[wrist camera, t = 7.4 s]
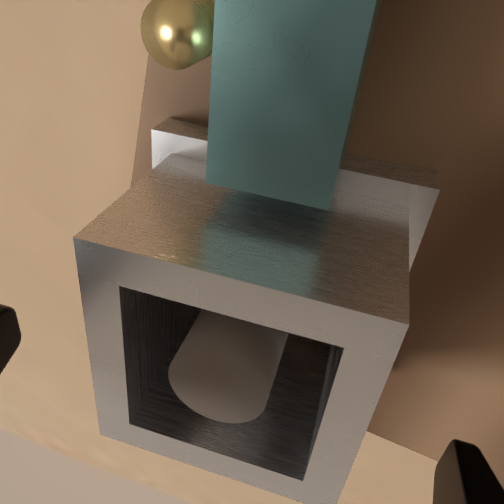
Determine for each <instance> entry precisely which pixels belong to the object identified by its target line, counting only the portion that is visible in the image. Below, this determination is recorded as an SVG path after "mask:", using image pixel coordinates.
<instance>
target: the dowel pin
mask: <svg viewBox="0 0 504 504" xmlns="http://www.w3.org/2000/svg"><path fill="white" fill-rule="evenodd" d="M214 9H215V0H152V1H151V2H150V3H149V4H148V5H147V7H146V8H145V10H144V12H143V15H142V19H141V35H142V39H143V43H144V45H145V47H146V49H147V51H148V53H149V54H150V55H151V57H152V58H153V59H154V60H155V61H156V62H157V63H159V64H160V65H162V66H163V67H166V68H168V69H172V70H182V69H186V68H188V67H190V66H192V65H194V64H196V63H198V62H200V61H201V60H203V59H205V58H207V57H209V56H211V55H212V47H213V28H214Z"/></svg>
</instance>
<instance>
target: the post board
mask: <svg viewBox="0 0 504 504" xmlns="http://www.w3.org/2000/svg"><path fill="white" fill-rule="evenodd" d="M211 66H212V55H211V56H209V57H207V58H205V59H203V60H201V61H200V62H198V63H196V64H194V65H192V66H190V67H188V68H186V69H182V70H172V69H168V68H166V67H163V66H162V65H160V64H159V63H157V62H156V61H155V60H154V59H153V58H152V57H151V55H150V54H149V56H148V63H147V71H146V78H145V85H144V93H143V100H142V108H141V115H140V123H139V130H138V138H137V145H136V153H135V160H134V168H133V175H132V182H131V187H132V186H134V185H135V184H136V183H137V182H138V181H139V180H141V179H142V178H143V177H144V176H145V175H146V174H148V173H149V172H150V171H151V170H152V138H151V129H152V128H154V127H155V126H157V125H158V124H160V123H161V122H162V121H164V120H165V119H167V118H168V117H172V118H177V119H182V120H187V121H192V122H197V123H201V124H206V125H208V124H209V104H210V85H211ZM346 153H349V154H353V155H358V156H363V157H368V158H373V159H378V160H383V161H388V162H393V163H398V164H402V165H407V166H412V167H417V168H422V169H427V170H432V171H437V172H438V178H439V185H440V192H439V194H438V197H437V200H436V202H435V205H434V208H433V210H432V213H431V216H430V218H429V221H428V224H427V226H426V229H425V232H424V234H423V237H422V240H421V242H420V245H419V248H418V250H417V253H416V256H415V258H414V261H413V264H412V266H411V269H410V272H409V327H408V329H407V332H406V334H405V337H404V339H403V342H402V344H401V347H400V349H399V352H398V354H397V356H396V359H395V361H394V364H393V366H392V369H391V371H390V374H389V376H388V379H387V381H386V384H385V386H384V388H383V391H382V393H381V396H380V398H379V401H378V403H377V406H376V408H375V411H374V413H373V415H372V418H371V420H370V423H369V425H368V428H367V430H366V431H368V432H370V433H373V434H375V435H378V436H380V437H382V438H385V439H387V440H389V441H392V442H394V443H396V444H399V445H401V446H403V447H406V448H408V449H410V450H413V451H415V452H417V453H420V454H422V455H424V456H427V457H429V458H431V459H434V460H436V461H439V460H440V458H441V457H442V455H443V453H444V451H445V450H446V448H447V446H448V445H449V443H450V442H451V441H452V440H453V439H458V440H462V441H465V442H468V443H472V444H474V445H476V446H477V447H478V448H479V449H480V450H481V452H482V454H483V455H484V457H485V459H486V460H487V462H488V464H489V465H490V467H491V469H492V470H493V472H494V474H495V476H496V477H497V479H498V481H499V482H500V484H501V486H502V487H503V489H504V0H382V2H381V7H380V11H379V15H378V19H377V24H376V28H375V32H374V37H373V41H372V45H371V49H370V54H369V58H368V62H367V67H366V71H365V75H364V79H363V84H362V88H361V92H360V96H359V101H358V105H357V109H356V114H355V118H354V122H353V126H352V131H351V135H350V139H349V144H348V148H347V152H346ZM288 334H289V332H285V331H281V330H278V329H274V328H270V327H267V326H263V325H260V324H256V323H252V322H249V321H245V320H241V319H238V318H234V317H230V316H227V315H223V314H220V313H216V312H212V311H209V310H205V309H202V310H201V311H200V313H199V315H198V317H197V318H196V320H195V322H194V324H193V325H192V327H191V329H190V331H189V332H188V334H187V336H186V338H185V339H184V341H183V343H182V344H181V346H180V348H179V350H178V351H177V353H176V355H175V357H174V358H173V360H172V362H171V364H170V366H169V371H168V377H169V382H170V384H171V387H172V389H173V391H174V392H175V393H176V395H177V396H178V397H179V399H180V400H181V401H182V402H183V403H184V404H186V405H187V406H188V407H189V408H191V409H192V410H194V411H195V412H197V413H199V414H200V415H202V416H205V417H207V418H209V419H212V420H215V421H219V422H224V423H244V422H248V421H251V420H253V419H255V418H257V417H258V416H259V415H260V414H261V413H262V412H263V411H264V409H265V407H266V404H267V401H268V398H269V394H270V391H271V388H272V385H273V382H274V378H275V375H276V372H277V369H278V366H279V362H280V359H281V356H282V353H283V350H284V346H285V343H286V340H287V337H288Z"/></svg>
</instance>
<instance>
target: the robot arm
mask: <svg viewBox="0 0 504 504" xmlns="http://www.w3.org/2000/svg"><path fill="white" fill-rule="evenodd" d="M20 341H21V332H20V328H19V324H18V320H17V316H16V312H15V310H14V309H13V308H11V307H8V306H5V305H2V304H0V374H1V372H2V371H3V369H4V368H5V366H6V365H7V363H8V362H9V360H10V358H11V357H12V355H13V354H14V352H15V351H16V349H17V348H18V346H19V344H20ZM433 504H504V489H503V487H502V486H501V484H500V482H499V481H498V479H497V477H496V476H495V474H494V472H493V470H492V469H491V467H490V465H489V464H488V462H487V460H486V459H485V457H484V455H483V454H482V452H481V450H480V449H479V448H478V447H477V446H476V445H474V444H472V443H468V442H465V441H462V440H458V439H453V440H452V441H451V442H450V443H449V445H448V446H447V448H446V450H445V451H444V453H443V455H442V457H441V458H440V460H439V462H438V464H437V466H436V470H435V477H434V492H433Z"/></svg>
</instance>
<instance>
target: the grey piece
mask: <svg viewBox="0 0 504 504" xmlns="http://www.w3.org/2000/svg"><path fill="white" fill-rule="evenodd" d="M381 2H382V0H215V9H214V28H213V47H212V66H211V85H210V104H209V124H208V125H206V124H201V123H197V122H192V121H187V120H182V119H177V118H172V117H168V118H167V119H165V120H164V121H162V122H161V123H160V124H158V125H157V126H155V127H154V128H152V129H151V138H152V170H151V171H150V172H149V173H148V174H146V175H145V176H144V177H143V178H142V179H141V180H139V181H138V182H137V183H136V184H135V185H134V186H132V187H131V188H130V189H129V190H128V191H127V192H125V193H124V194H123V195H122V196H121V197H120V198H118V199H117V200H116V201H115V202H114V203H112V204H111V205H110V206H109V207H108V208H107V209H105V210H104V211H103V212H102V213H101V214H100V215H98V216H97V217H96V218H95V219H94V220H93V221H91V222H90V223H89V224H88V225H87V226H86V227H84V228H83V229H82V230H81V231H80V232H79V233H77V234H76V235H75V236H74V237H73V240H74V247H75V255H76V262H77V269H78V277H79V284H80V291H81V298H82V306H83V313H84V320H85V328H86V335H87V342H88V349H89V357H90V364H91V371H92V379H93V386H94V393H95V400H96V408H97V415H98V422H99V430H100V435H103V436H106V437H109V438H112V439H115V440H118V441H121V442H124V443H127V444H130V445H133V446H136V447H139V448H142V449H145V450H148V451H151V452H154V453H157V454H160V455H163V456H166V457H169V458H172V459H175V460H178V461H181V462H183V463H186V464H189V465H192V466H195V467H198V468H201V469H204V470H207V471H210V472H213V473H216V474H219V475H222V476H225V477H228V478H231V479H234V480H237V481H240V482H243V483H246V484H249V485H252V486H255V487H258V488H261V489H264V490H266V491H269V492H272V493H275V494H278V495H281V496H284V497H287V498H290V499H293V500H296V501H299V502H302V503H305V504H337V501H338V499H339V497H340V494H341V492H342V489H343V487H344V484H345V482H346V479H347V477H348V474H349V472H350V470H351V467H352V465H353V462H354V460H355V457H356V455H357V452H358V450H359V447H360V445H361V443H362V440H363V438H364V435H365V433H366V430H367V428H368V425H369V423H370V420H371V418H372V415H373V413H374V411H375V408H376V406H377V403H378V401H379V398H380V396H381V393H382V391H383V388H384V386H385V384H386V381H387V379H388V376H389V374H390V371H391V369H392V366H393V364H394V361H395V359H396V356H397V354H398V352H399V349H400V347H401V344H402V342H403V339H404V337H405V334H406V332H407V329H408V327H409V272H410V269H411V266H412V264H413V261H414V258H415V256H416V253H417V250H418V248H419V245H420V242H421V240H422V237H423V234H424V232H425V229H426V226H427V224H428V221H429V218H430V216H431V213H432V210H433V208H434V205H435V202H436V200H437V197H438V194H439V192H440V185H439V178H438V172H437V171H432V170H427V169H422V168H417V167H412V166H407V165H402V164H398V163H393V162H388V161H383V160H378V159H373V158H368V157H363V156H358V155H353V154H349V153H346V152H347V148H348V144H349V139H350V135H351V131H352V126H353V122H354V118H355V114H356V109H357V105H358V101H359V96H360V92H361V88H362V84H363V79H364V75H365V71H366V67H367V62H368V58H369V54H370V49H371V45H372V41H373V37H374V32H375V28H376V24H377V19H378V15H379V11H380V7H381ZM202 309H205V310H209V311H212V312H216V313H220V314H223V315H227V316H230V317H234V318H238V319H241V320H245V321H249V322H252V323H256V324H260V325H263V326H267V327H270V328H274V329H278V330H281V331H285V332H289V334H288V337H287V340H286V343H285V346H284V350H283V353H282V356H281V359H280V362H279V366H278V369H277V372H276V375H275V378H274V382H273V385H272V388H271V391H270V394H269V398H268V401H267V404H266V407H265V409H264V411H263V412H262V413H261V414H260V415H259V416H258V417H257V418H255V419H253V420H251V421H248V422H244V423H224V422H219V421H215V420H212V419H209V418H207V417H205V416H202V415H200V414H199V413H197V412H195V411H194V410H192V409H191V408H189V407H188V406H187V405H186V404H184V403H183V402H182V401H181V400H180V399H179V397H178V396H177V395H176V393H175V392H174V391H173V389H172V387H171V384H170V382H169V377H168V371H169V366H170V364H171V362H172V360H173V358H174V357H175V355H176V353H177V351H178V350H179V348H180V346H181V344H182V343H183V341H184V339H185V338H186V336H187V334H188V332H189V331H190V329H191V327H192V325H193V324H194V322H195V320H196V318H197V317H198V315H199V313H200V311H201V310H202Z"/></svg>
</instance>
